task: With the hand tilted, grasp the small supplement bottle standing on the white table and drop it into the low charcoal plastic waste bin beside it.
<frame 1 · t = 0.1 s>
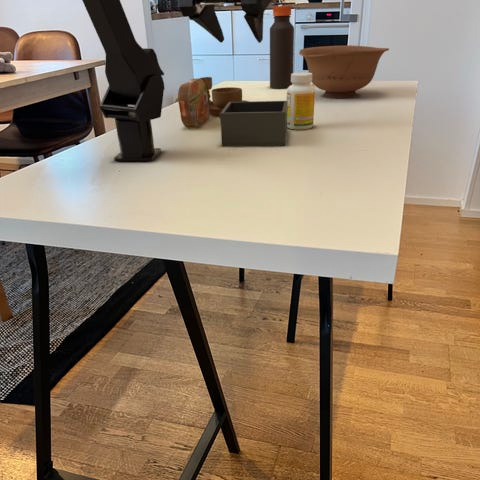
hand: (241, 41, 94), 15 cm above the table, tool tilted 35°, fingers open, 9 cm apart
bowl: (339, 96, 125), on the table
tin: (196, 124, 102), on the table
place setting: (229, 110, 115), on the table
bin: (255, 138, 89), on the table
brown bottle: (281, 88, 141), on the table
supplement bottle: (299, 128, 96), on the table
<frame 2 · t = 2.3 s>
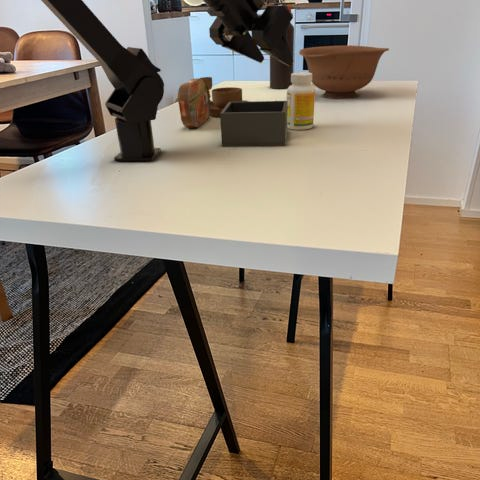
hand: (276, 62, 87), 12 cm above the table, tool tilted 45°, fingers open, 9 cm apart
nothing on the table moved.
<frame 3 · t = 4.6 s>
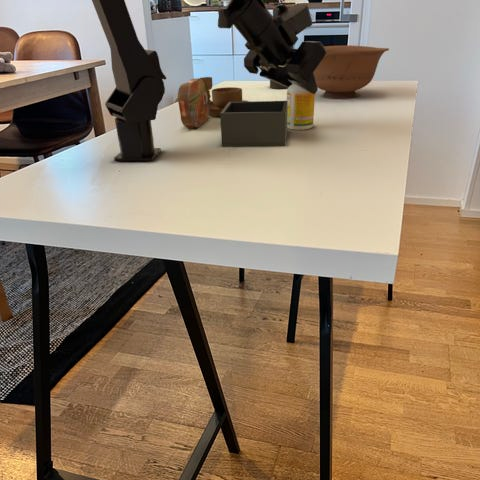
hand: (306, 90, 93), 7 cm above the table, tool tilted 45°, fingers closed on supplement bottle, 5 cm apart
supplement bottle: (299, 128, 96), on the table, touching gripper
everything else where it was.
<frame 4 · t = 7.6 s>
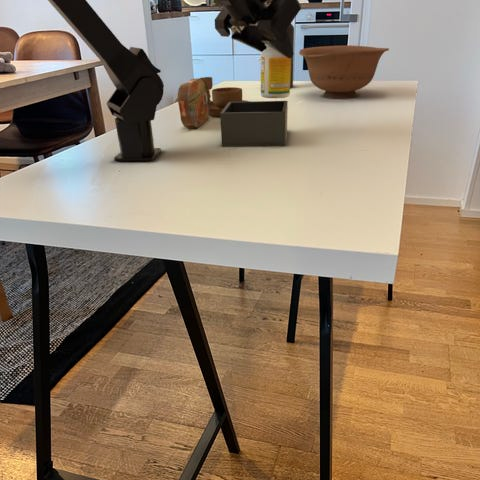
hand: (282, 55, 85), 13 cm above the table, tool tilted 45°, fingers closed on supplement bottle, 5 cm apart
supplement bottle: (275, 97, 89), point 6 cm above the table, touching gripper
everything else where it was.
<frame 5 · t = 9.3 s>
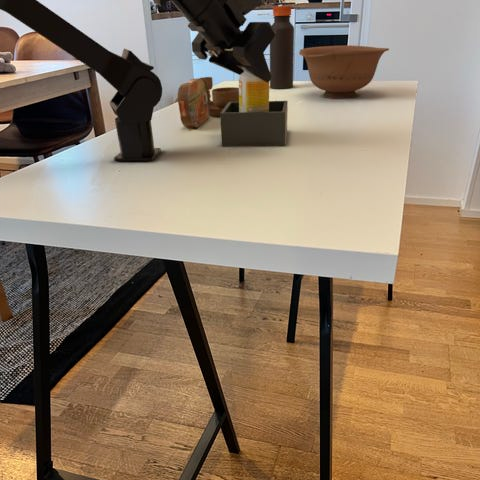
hand: (260, 78, 84), 10 cm above the table, tool tilted 45°, fingers closed on supplement bottle, 5 cm apart
supplement bottle: (254, 120, 87), point 3 cm above the table, touching gripper
everything else where it was.
when the fingers open (7 cm above the table, at t = 10.7 s): supplement bottle stays where it is, resting on bin.
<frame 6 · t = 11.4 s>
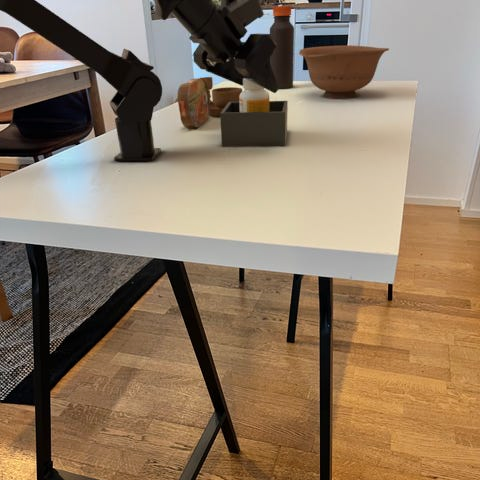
hand: (261, 87, 85), 8 cm above the table, tool tilted 45°, fingers open, 9 cm apart
supplement bottle: (255, 136, 89), resting on bin
everything else where it was.
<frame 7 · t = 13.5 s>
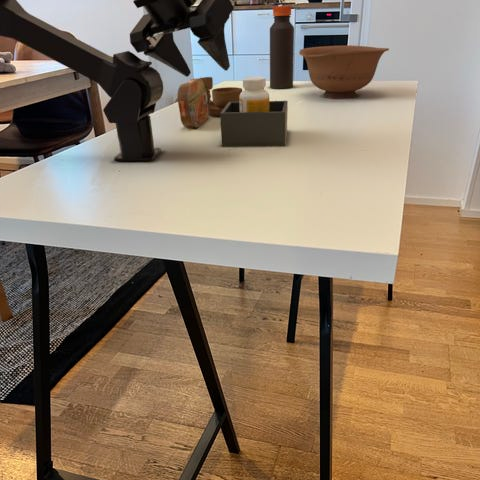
hand: (207, 71, 79), 12 cm above the table, tool tilted 35°, fingers open, 9 cm apart
nothing on the table moved.
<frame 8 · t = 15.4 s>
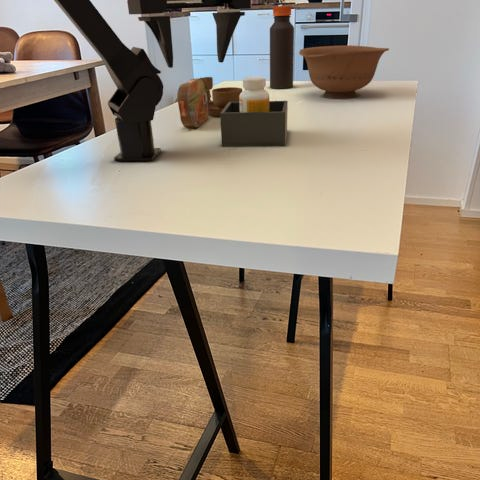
hand: (196, 64, 78), 13 cm above the table, tool pointing down, fingers open, 9 cm apart
nothing on the table moved.
at the end: supplement bottle inside the target area in the bin (0.2 cm from its centre), point 0.3 cm above the bin's base; the gripper is holding nothing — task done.
